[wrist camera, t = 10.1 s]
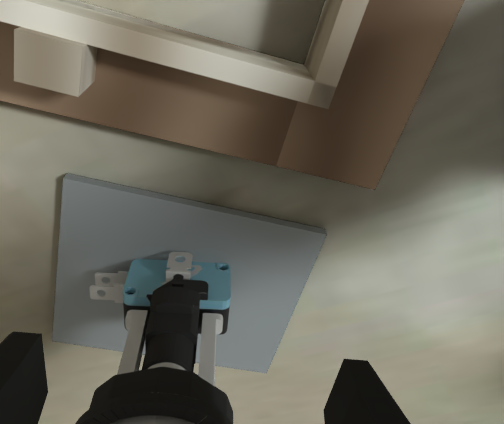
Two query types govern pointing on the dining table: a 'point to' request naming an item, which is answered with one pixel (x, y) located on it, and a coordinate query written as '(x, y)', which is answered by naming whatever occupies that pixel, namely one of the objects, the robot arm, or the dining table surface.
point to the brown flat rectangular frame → (233, 80)
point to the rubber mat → (178, 240)
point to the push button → (166, 343)
